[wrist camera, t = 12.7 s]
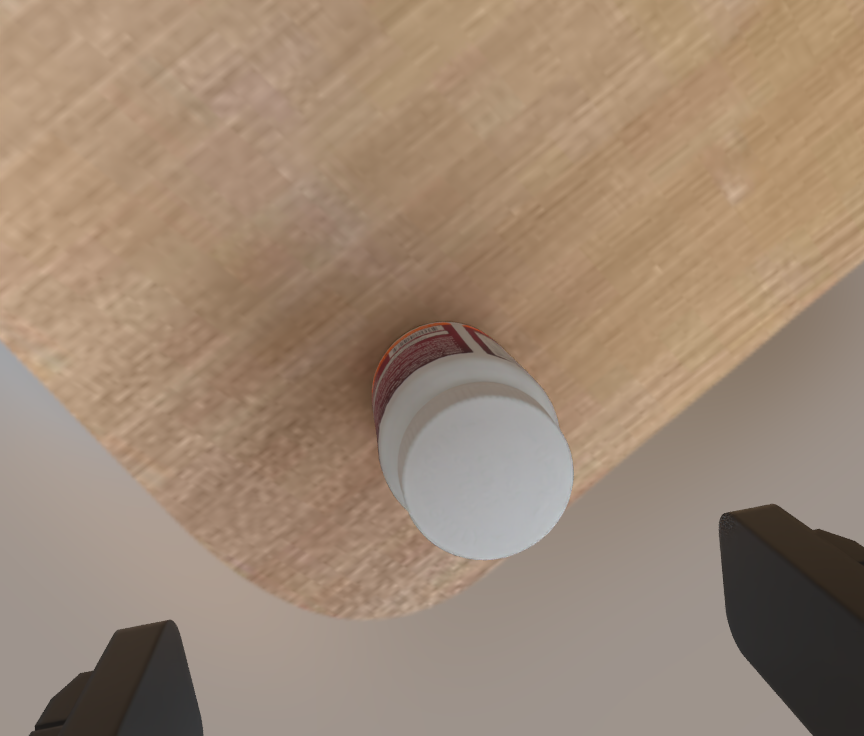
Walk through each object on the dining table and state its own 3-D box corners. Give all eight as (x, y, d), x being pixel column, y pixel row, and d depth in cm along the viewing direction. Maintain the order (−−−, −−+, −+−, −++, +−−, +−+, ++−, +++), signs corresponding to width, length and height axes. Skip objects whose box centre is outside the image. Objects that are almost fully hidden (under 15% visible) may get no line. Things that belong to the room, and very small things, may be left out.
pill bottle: (359, 445, 34) (363, 563, 23) (386, 306, 33) (404, 361, 22) (496, 468, 35) (563, 592, 24) (528, 333, 34) (613, 399, 23)
